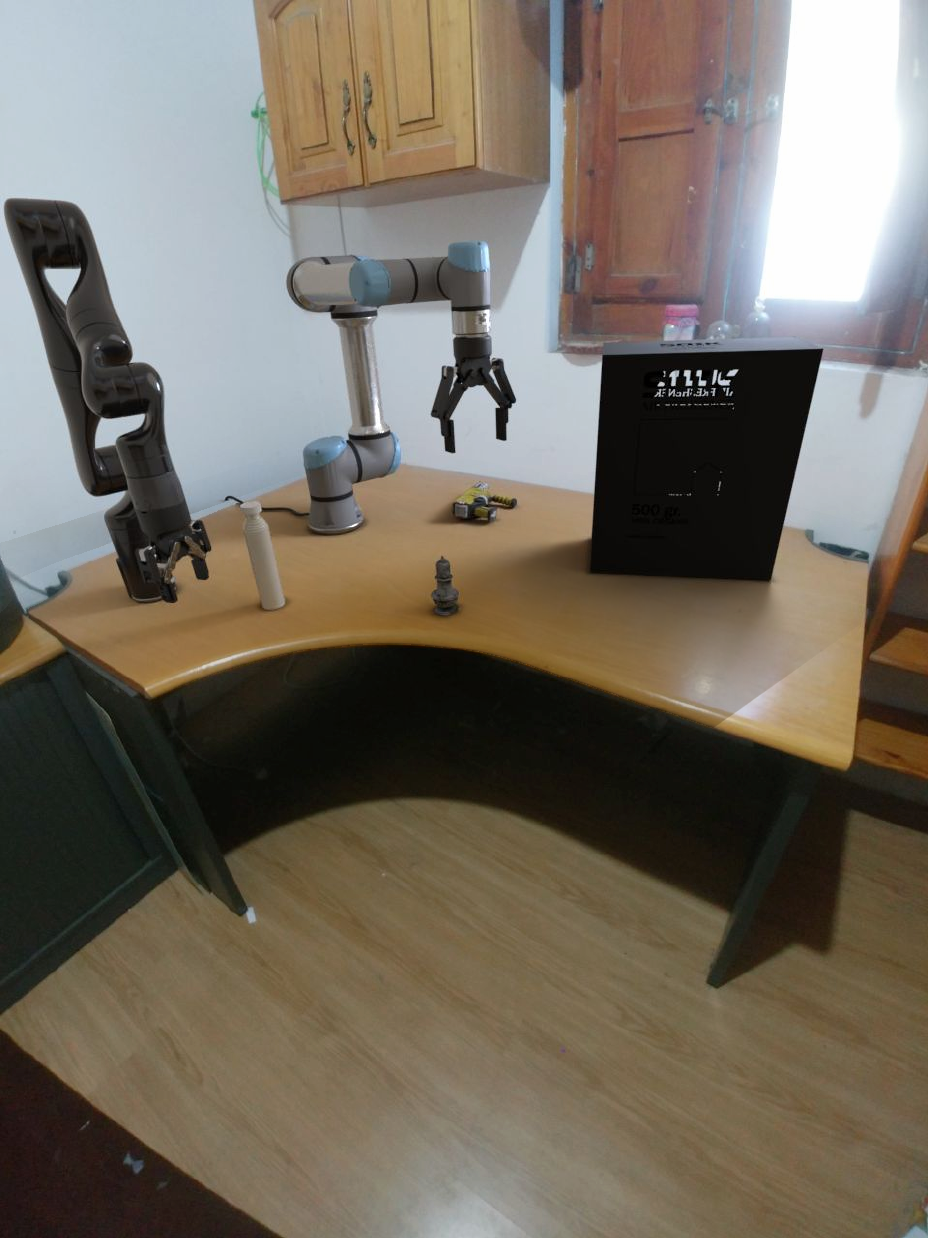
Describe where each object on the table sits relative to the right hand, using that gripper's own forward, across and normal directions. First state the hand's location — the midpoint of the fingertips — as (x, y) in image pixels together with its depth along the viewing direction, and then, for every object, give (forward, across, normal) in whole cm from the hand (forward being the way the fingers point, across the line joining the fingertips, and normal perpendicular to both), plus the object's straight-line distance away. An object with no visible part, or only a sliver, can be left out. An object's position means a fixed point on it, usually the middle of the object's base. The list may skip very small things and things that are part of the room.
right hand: (476, 445), depth 127 cm
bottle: (+28, -45, +15) cm, 55 cm away
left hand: (+13, -62, +1) cm, 64 cm away
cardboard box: (+28, +36, -27) cm, 53 cm away
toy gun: (+28, +26, +29) cm, 48 cm away
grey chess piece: (+28, -18, -12) cm, 35 cm away
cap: (+6, -45, +15) cm, 48 cm away
